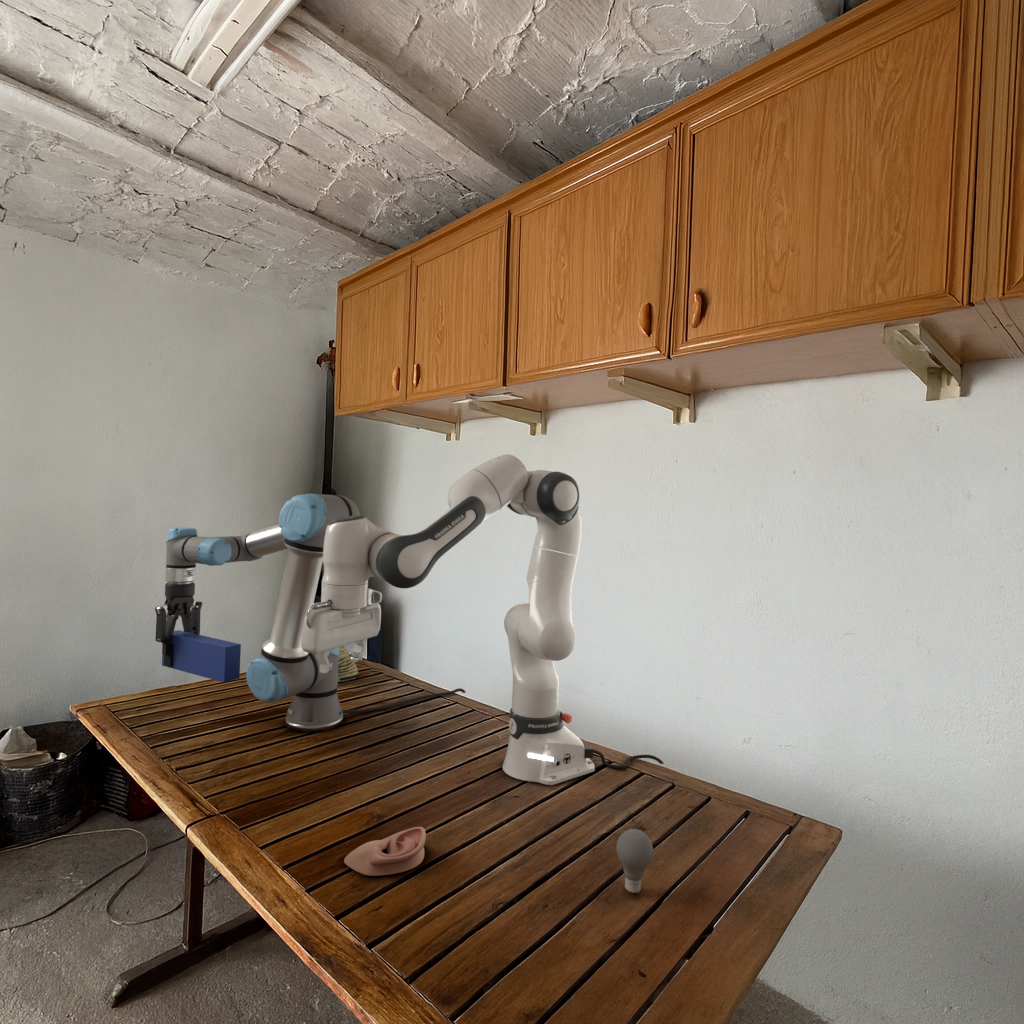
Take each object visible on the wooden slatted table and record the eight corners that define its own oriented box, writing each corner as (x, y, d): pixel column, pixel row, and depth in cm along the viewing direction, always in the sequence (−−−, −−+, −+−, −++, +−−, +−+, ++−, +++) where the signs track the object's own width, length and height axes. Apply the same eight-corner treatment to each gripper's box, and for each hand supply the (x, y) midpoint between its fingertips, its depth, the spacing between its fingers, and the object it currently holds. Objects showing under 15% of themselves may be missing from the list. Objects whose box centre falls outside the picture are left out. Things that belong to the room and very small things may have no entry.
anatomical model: (336, 847, 108) (365, 815, 119) (335, 870, 108) (364, 836, 119) (410, 859, 105) (432, 825, 116) (409, 883, 105) (431, 846, 116)
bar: (161, 665, 179) (162, 632, 179) (177, 662, 183) (178, 630, 183) (224, 682, 167) (225, 647, 166) (239, 678, 171) (240, 644, 171)
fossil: (298, 680, 214) (300, 636, 214) (348, 672, 226) (350, 630, 226) (309, 687, 207) (311, 641, 207) (360, 678, 220) (362, 635, 220)
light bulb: (610, 879, 108) (613, 822, 108) (644, 879, 109) (647, 822, 109) (619, 902, 102) (622, 840, 102) (655, 901, 103) (658, 840, 103)
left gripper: (160, 586, 169) (157, 673, 170) (216, 580, 186) (213, 659, 186) (141, 584, 173) (138, 668, 173) (198, 577, 189) (195, 655, 189)
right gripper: (321, 606, 115) (318, 682, 115) (387, 592, 133) (384, 658, 134) (294, 602, 117) (291, 676, 117) (362, 590, 136) (359, 654, 136)
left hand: (177, 663), depth 180 cm, fingers closed on bar, 5 cm apart
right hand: (341, 666), depth 126 cm, fingers open, 8 cm apart
